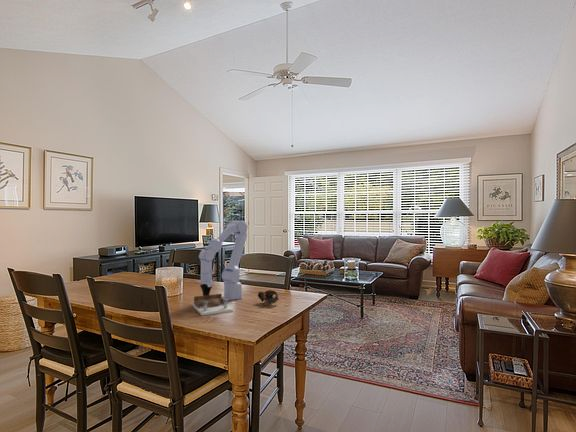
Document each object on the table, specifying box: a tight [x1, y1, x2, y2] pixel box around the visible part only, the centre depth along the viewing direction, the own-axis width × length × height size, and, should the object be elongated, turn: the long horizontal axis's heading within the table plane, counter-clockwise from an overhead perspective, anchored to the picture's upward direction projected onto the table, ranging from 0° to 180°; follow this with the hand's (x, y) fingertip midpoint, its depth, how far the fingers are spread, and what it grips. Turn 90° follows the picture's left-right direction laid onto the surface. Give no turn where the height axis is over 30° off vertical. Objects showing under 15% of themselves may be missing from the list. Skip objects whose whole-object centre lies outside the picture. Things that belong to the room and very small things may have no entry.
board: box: [192, 299, 234, 316], centre depth 168 cm, size 15×18×5 cm
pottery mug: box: [257, 289, 279, 307], centre depth 178 cm, size 12×10×8 cm
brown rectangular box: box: [193, 293, 224, 308], centre depth 171 cm, size 14×9×4 cm, turn 119°
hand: (206, 298), depth 178 cm, fingers closed
